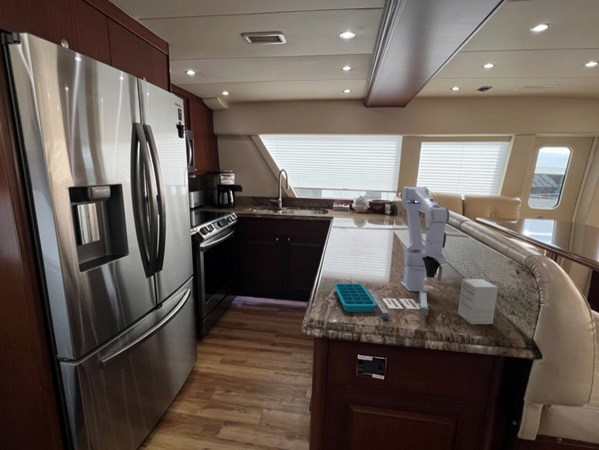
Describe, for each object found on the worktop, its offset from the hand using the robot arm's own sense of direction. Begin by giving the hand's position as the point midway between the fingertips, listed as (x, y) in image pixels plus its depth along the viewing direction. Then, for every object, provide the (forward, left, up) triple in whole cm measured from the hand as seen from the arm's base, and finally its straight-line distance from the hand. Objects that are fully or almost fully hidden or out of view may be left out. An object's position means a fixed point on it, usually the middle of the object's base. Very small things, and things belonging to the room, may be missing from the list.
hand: (430, 277), depth 102 cm
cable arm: (+8, -6, -9) cm, 14 cm away
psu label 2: (+2, -7, -10) cm, 13 cm away
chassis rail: (+3, -20, -10) cm, 23 cm away
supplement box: (+12, +10, -10) cm, 19 cm away
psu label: (+2, -14, -10) cm, 17 cm away
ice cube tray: (-1, -28, -10) cm, 30 cm away
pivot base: (+2, -3, -10) cm, 11 cm away
